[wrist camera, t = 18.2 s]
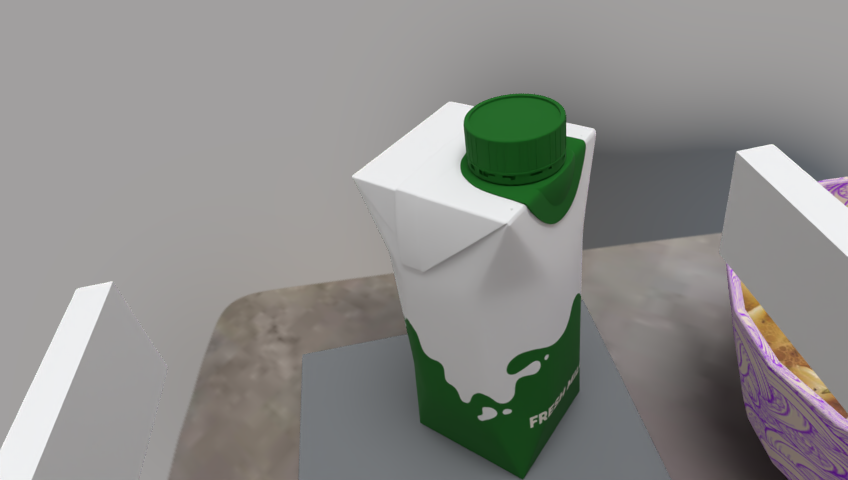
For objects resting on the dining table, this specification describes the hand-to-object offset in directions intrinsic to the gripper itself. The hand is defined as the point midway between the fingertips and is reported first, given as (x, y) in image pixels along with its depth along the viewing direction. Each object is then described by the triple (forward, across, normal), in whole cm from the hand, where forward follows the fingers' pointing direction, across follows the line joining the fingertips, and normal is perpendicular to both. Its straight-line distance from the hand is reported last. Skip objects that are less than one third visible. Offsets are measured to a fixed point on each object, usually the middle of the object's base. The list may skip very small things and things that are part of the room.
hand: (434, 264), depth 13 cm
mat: (+12, 0, -24) cm, 27 cm away
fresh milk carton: (+13, +2, -23) cm, 27 cm away
